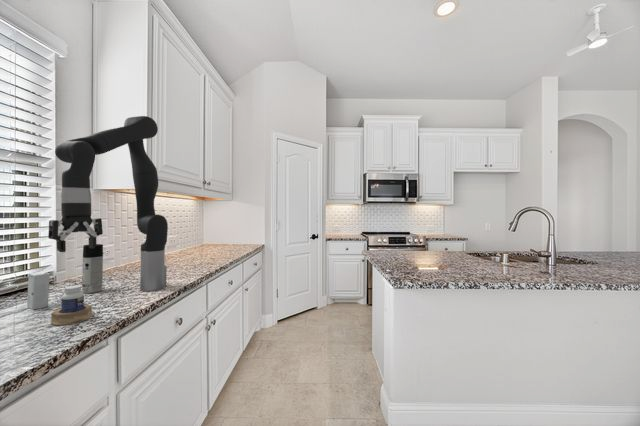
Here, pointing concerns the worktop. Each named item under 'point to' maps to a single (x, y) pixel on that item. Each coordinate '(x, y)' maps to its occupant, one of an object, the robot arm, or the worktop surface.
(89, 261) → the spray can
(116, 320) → the worktop surface
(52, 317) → the collar
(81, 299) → the pill bottle
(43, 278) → the skincare box
